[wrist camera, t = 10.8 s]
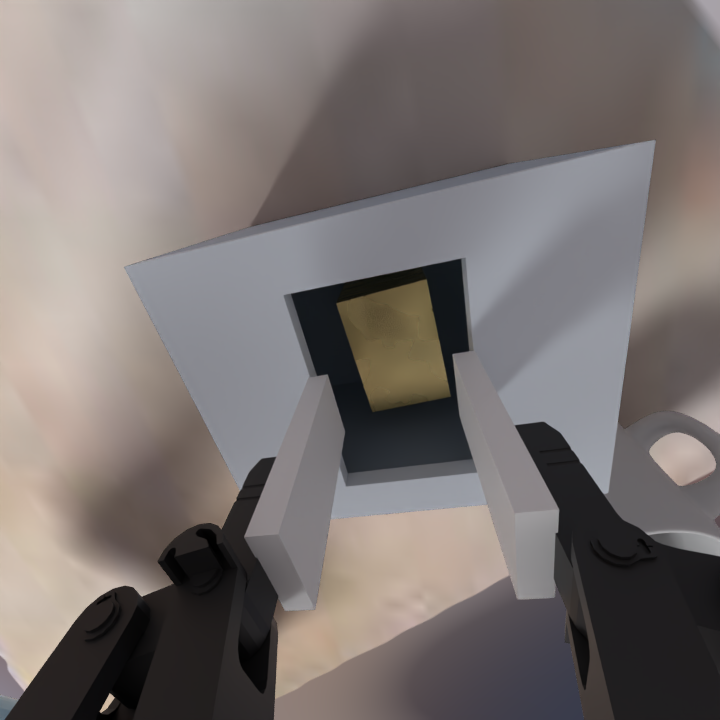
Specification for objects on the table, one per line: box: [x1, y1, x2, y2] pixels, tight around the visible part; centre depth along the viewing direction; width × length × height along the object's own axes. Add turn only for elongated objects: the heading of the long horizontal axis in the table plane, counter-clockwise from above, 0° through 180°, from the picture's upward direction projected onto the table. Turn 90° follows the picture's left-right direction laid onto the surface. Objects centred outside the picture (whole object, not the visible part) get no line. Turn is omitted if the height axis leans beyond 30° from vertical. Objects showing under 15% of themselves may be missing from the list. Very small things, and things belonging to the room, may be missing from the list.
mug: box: [604, 411, 720, 556], centre depth 23 cm, size 12×8×11 cm
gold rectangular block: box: [336, 267, 451, 412], centre depth 20 cm, size 4×6×8 cm, turn 16°
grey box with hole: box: [124, 140, 656, 519], centre depth 18 cm, size 16×13×12 cm
